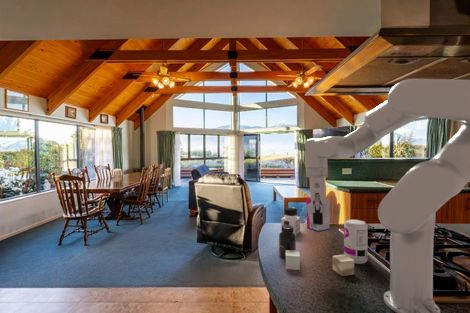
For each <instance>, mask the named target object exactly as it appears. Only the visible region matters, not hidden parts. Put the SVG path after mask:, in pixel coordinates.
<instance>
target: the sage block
mask: <svg viewBox="0 0 470 313" xmlns="http://www.w3.org/2000/svg"><path fill="white" fill-rule="evenodd" d="M300 256H301V255H300V251H299V250H296V251H292V250H286V258H285V270H296V271H301V257H300Z"/></svg>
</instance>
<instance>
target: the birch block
mask: <svg viewBox="0 0 470 313" xmlns="http://www.w3.org/2000/svg"><path fill="white" fill-rule="evenodd" d="M332 270H333V271H334V272H335V273H336V274H338V275H339V276H341V277H344V276H345V277H346V276H350V275H351V276H352V275H355V263H354V260H353V259H351V258H350V257H348V256H347V255H345V254H344V253H343V254H338V255H337V254H336V255H332Z"/></svg>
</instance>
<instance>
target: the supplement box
mask: <svg viewBox="0 0 470 313" xmlns="http://www.w3.org/2000/svg"><path fill="white" fill-rule="evenodd" d="M305 200H306V201H305V202H306V203H305V204H306V230H310V231H313V232H315V233H323V232H326V231H329V230H330V227H331V226H330V199H329V197H326V205H325V206H324V204H322V213H323V224H322V225H319V224H313V205H312V204H311V197H309V196H308V197H306V199H305ZM314 204H316V202H315V201H314ZM319 204H320V201H319Z"/></svg>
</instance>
